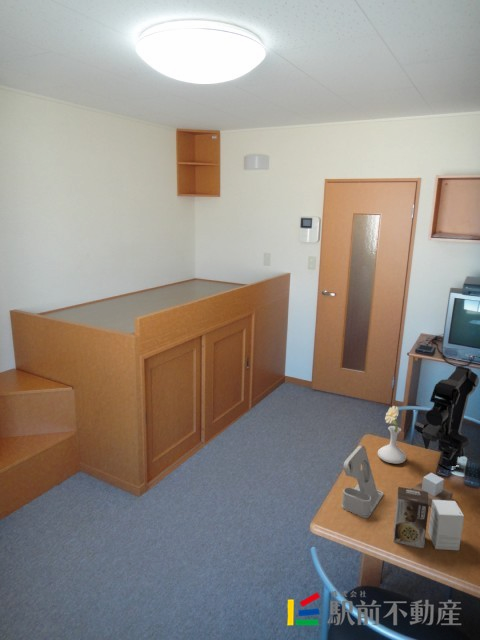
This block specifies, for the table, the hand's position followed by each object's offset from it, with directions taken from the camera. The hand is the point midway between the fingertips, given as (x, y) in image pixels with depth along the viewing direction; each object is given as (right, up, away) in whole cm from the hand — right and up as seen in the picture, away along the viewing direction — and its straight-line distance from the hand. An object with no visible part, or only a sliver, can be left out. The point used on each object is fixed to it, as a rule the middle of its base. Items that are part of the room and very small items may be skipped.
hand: (437, 454), depth 168 cm
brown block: (-4, -14, -4) cm, 16 cm away
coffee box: (-20, -20, -25) cm, 38 cm away
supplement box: (-10, -20, -26) cm, 34 cm away
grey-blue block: (-4, -12, -5) cm, 13 cm away
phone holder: (-30, -15, -6) cm, 34 cm away
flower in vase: (-11, -8, +20) cm, 24 cm away
